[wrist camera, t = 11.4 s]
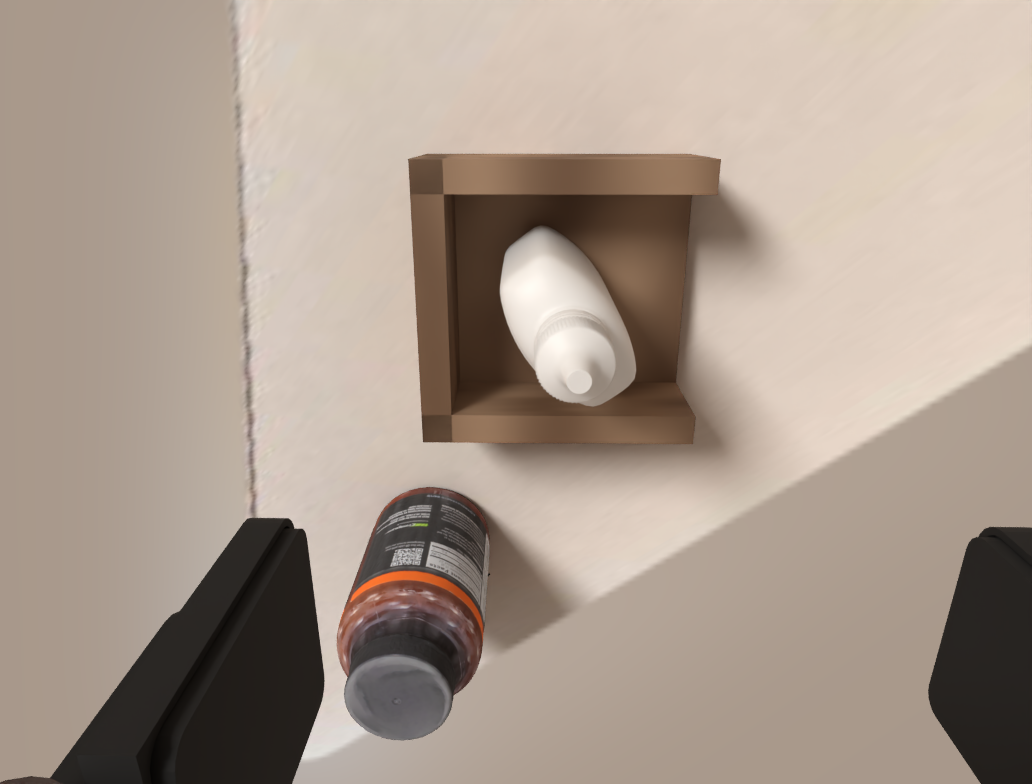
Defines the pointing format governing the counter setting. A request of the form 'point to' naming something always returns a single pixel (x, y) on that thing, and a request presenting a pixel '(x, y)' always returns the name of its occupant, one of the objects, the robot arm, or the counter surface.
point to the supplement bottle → (415, 614)
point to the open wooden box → (607, 244)
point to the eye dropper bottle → (565, 319)
